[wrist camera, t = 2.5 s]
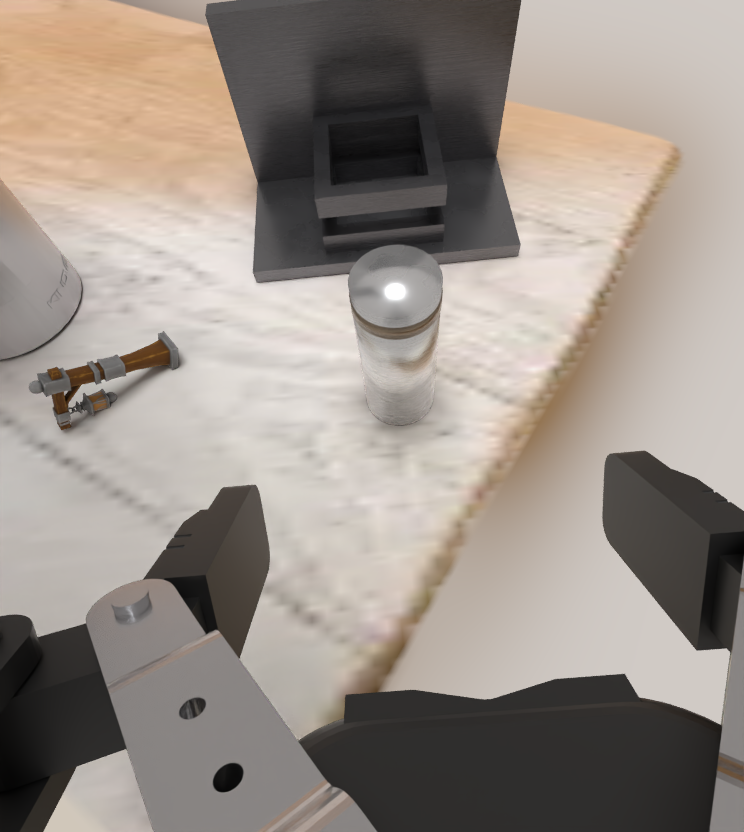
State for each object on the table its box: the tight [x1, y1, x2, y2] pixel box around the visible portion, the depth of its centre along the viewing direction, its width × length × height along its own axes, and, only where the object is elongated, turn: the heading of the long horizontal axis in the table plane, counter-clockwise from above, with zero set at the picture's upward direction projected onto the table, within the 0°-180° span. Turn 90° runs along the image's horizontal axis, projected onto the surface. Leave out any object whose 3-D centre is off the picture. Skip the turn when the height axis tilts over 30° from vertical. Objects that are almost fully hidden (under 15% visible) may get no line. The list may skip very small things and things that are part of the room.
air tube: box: [348, 245, 443, 426], centre depth 26 cm, size 4×4×10 cm
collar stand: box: [205, 0, 521, 282], centre depth 33 cm, size 18×12×12 cm, turn 94°
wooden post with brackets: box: [29, 331, 178, 430], centre depth 31 cm, size 2×8×4 cm, turn 130°
